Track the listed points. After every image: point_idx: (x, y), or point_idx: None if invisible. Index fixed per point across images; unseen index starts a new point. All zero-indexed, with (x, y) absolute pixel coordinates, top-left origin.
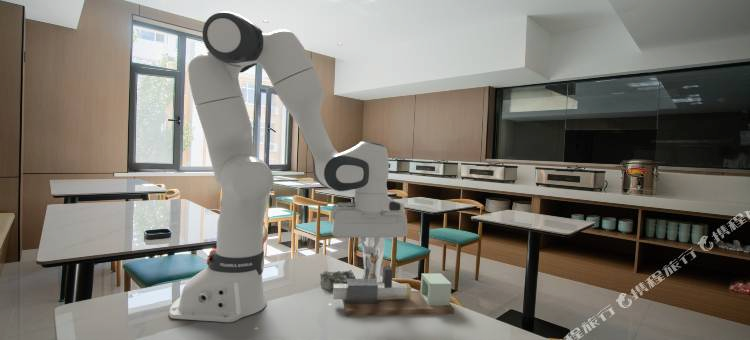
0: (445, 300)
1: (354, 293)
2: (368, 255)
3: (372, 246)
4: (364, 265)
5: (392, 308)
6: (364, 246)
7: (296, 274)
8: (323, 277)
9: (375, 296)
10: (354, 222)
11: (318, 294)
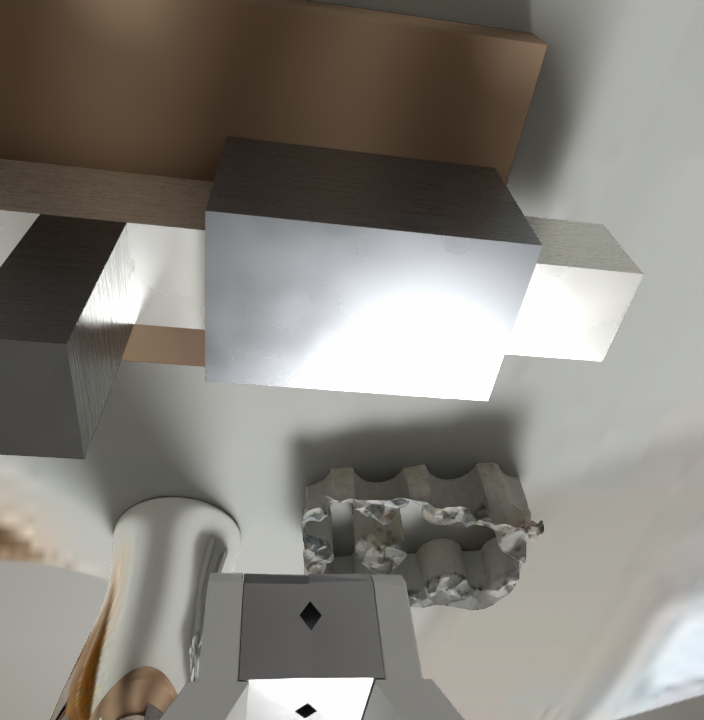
0: None
1: (452, 201)
2: None
3: (243, 715)
4: None
5: (82, 4)
6: (428, 704)
7: (590, 619)
8: (488, 569)
9: (237, 163)
10: None
11: (579, 405)
